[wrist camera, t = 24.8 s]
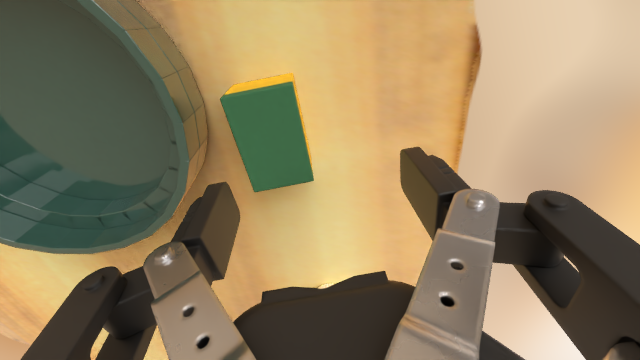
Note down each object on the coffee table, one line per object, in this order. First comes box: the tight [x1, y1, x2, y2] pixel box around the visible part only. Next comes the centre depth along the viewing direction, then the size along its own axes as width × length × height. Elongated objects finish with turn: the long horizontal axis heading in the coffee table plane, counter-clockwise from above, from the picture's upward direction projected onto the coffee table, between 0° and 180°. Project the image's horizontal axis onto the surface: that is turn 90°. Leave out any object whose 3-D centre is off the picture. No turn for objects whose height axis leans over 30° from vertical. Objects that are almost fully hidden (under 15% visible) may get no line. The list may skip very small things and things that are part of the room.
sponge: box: [220, 73, 314, 192], centre depth 20 cm, size 7×4×4 cm, turn 10°
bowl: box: [0, 0, 208, 254], centre depth 17 cm, size 19×19×5 cm
